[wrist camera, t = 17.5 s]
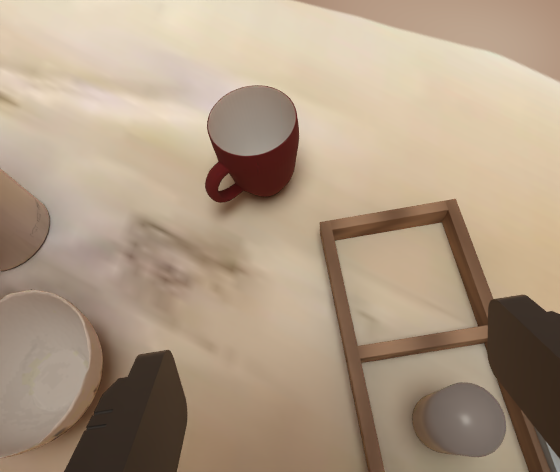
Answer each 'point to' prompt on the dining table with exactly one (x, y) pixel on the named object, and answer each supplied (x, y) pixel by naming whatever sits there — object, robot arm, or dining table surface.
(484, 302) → the divider rack
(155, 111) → the dining table surface
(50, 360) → the teacup
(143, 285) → the dining table surface
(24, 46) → the dining table surface
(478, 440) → the grey dome-topped cylinder
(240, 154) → the mug
